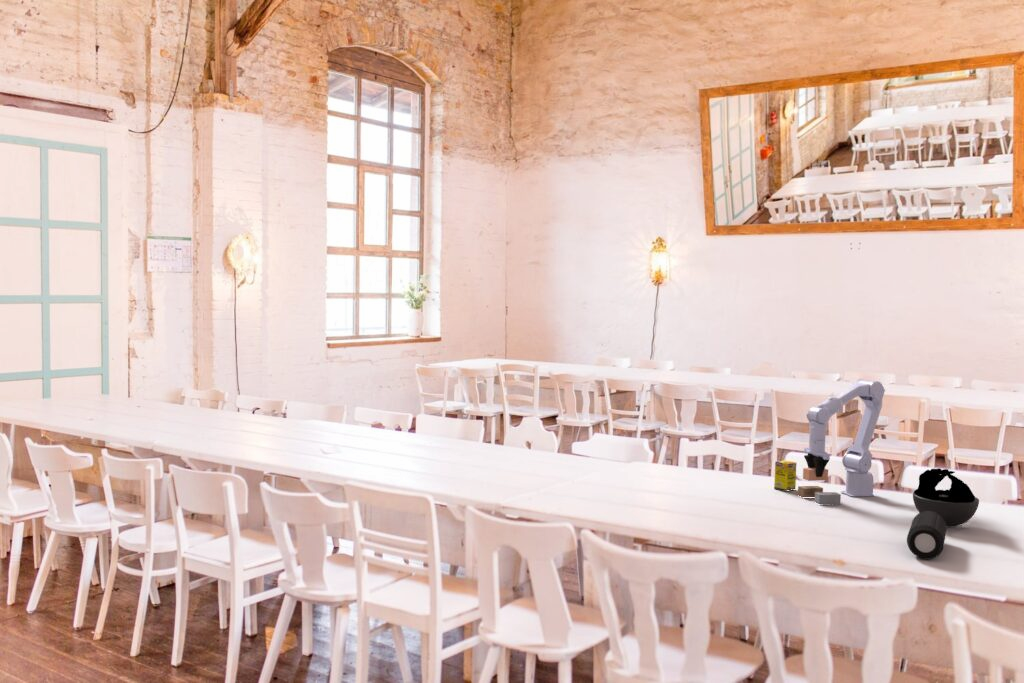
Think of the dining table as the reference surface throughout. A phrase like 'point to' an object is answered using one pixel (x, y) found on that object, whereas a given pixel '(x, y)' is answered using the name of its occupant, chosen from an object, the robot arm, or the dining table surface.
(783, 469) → the supplement box
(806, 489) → the walnut brick
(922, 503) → the coal bowl
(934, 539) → the portable speaker
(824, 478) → the terracotta brick
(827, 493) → the slate-grey brick
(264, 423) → the dining table surface
